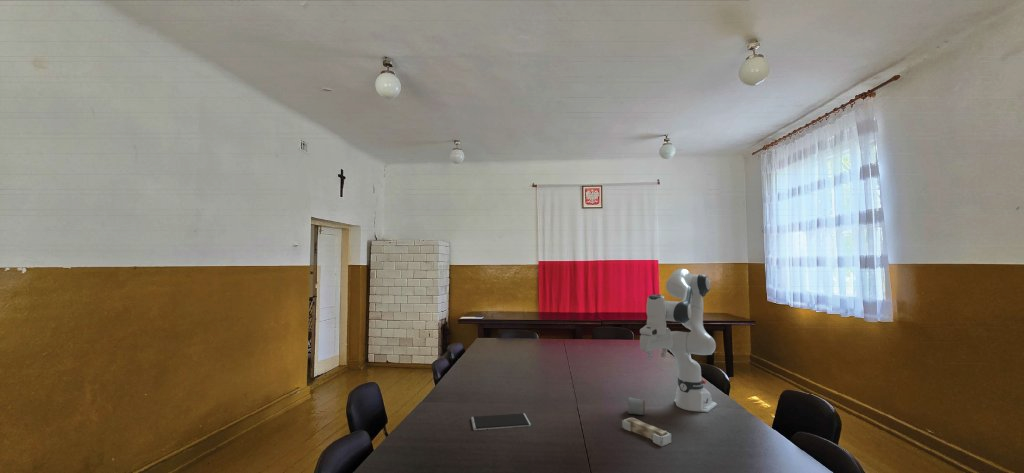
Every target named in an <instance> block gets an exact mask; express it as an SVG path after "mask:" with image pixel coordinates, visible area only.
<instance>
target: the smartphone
mask: <svg viewBox="0 0 1024 473" xmlns="http://www.w3.org/2000/svg"><path fill="white" fill-rule="evenodd" d="M471 425H472V429H473V431H485V430H487V429H488V430H499V429H510V428H511V429H512V428H524V427H531V425H532V423H531V422H530V420H529V418H528V417H527V415H526V413H525V412H523V413H522V412H521V413H509V414H495V415H494V414H493V415H477V416H471Z"/></svg>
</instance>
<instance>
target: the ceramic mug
mask: <svg viewBox="0 0 1024 473" xmlns="http://www.w3.org/2000/svg"><path fill="white" fill-rule="evenodd" d="M627 400H628V401H627V407H628V408H627V413H628V414H629V415H637V416H644V415H645V414H646V413H645V411H646V406H645V405H646V403H645V400H643V399H641V398H635V397H630V396H629V397H628V399H627Z"/></svg>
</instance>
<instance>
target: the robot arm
mask: <svg viewBox="0 0 1024 473" xmlns="http://www.w3.org/2000/svg"><path fill="white" fill-rule="evenodd" d="M665 288H666V291H667V293H668V294H669V295H670V296H671V297H674V298H676V299H679V300H680V299H681V301H672V300H665V296H664V295H662V294H650V295H648V296H647V300H646V316H647V319H646V324H645V325H644V326H643V327H641V328H640V329H639V334H640V335H639V347H640V350H641V351H643V352H646V355H647V356H648V357H647V359H648V361H653V360H654V355H652V353H653V351H656V350H657V351H658V350H662V351H661V353H660V357H661V358H663V359H664V358H667V352H668V351H670V353H672V355H673V357H674V359H675V361H676V364H677V372H678V377H677V387H676V390H675V391H676V392H675V398H674V403H675V405H676V406H677V407H678V408H680V409H682V410H685V411H689V412H702V413H708V412H710V411H711V410H713V409H714V408H716V407H717V406H718V404H717V402H715V401H713V399H712V394H711V393H710V392H709V390H708V389H706V388H705V386H704V385H706V383H707V381H706V380H705V379H702V367H701V365H700V364H699V363H698V361H696V360H695V359H692V357H691V356H690V355H689V354H692V355H700V356H709V355H710V356H712V355H713V353H714V352H715V350H716V348H717V343H716V340H715V339H714V337H713V336H711V335H710V334H709V333H708V332H707V331H706V329H705V327H704V309H705V308H704V297H705V296H706V295H707V294H708V292H710V290H711V281H710V278H709V277H708V275H707V274H701V273H699V274H692V273H691V272H690V271H689V270H688V269H686V268H678V269H675V270H674V271H673V272H672V273H671V275H669V277H668V279H667V281H666V283H665ZM667 322H677V323H681V324H682V326H684V327H685V328H686V329H688V330H690V331H689V332H687V331H678V330H675V331H674V330H673V331H671V329H670V328H669V327H667Z"/></svg>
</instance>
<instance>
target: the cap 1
mask: <svg viewBox="0 0 1024 473" xmlns="http://www.w3.org/2000/svg"><path fill="white" fill-rule="evenodd" d="M629 418H633V419H636V420H638V421H640V419H637V418H635V417H634V416H631V417H628V418H625V419H622V420H621V423H622V429H623V430H626V431H629V432H632V431H631V423H630V422H627V419H629Z"/></svg>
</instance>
